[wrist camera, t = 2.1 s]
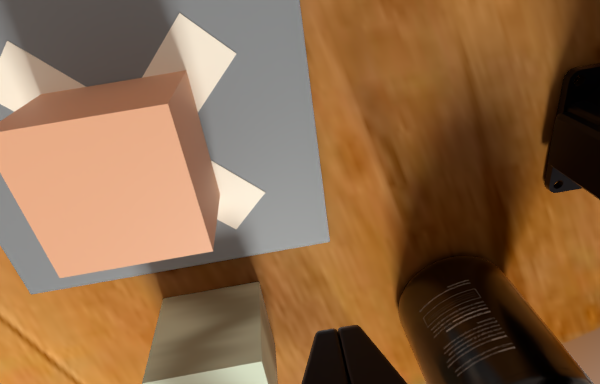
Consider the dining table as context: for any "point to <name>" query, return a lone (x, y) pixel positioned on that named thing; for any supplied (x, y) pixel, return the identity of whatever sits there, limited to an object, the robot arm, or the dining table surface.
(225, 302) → the sage cube
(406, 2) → the dining table surface
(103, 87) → the terracotta block
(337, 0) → the dining table surface
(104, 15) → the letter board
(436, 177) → the dining table surface
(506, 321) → the supplement bottle
